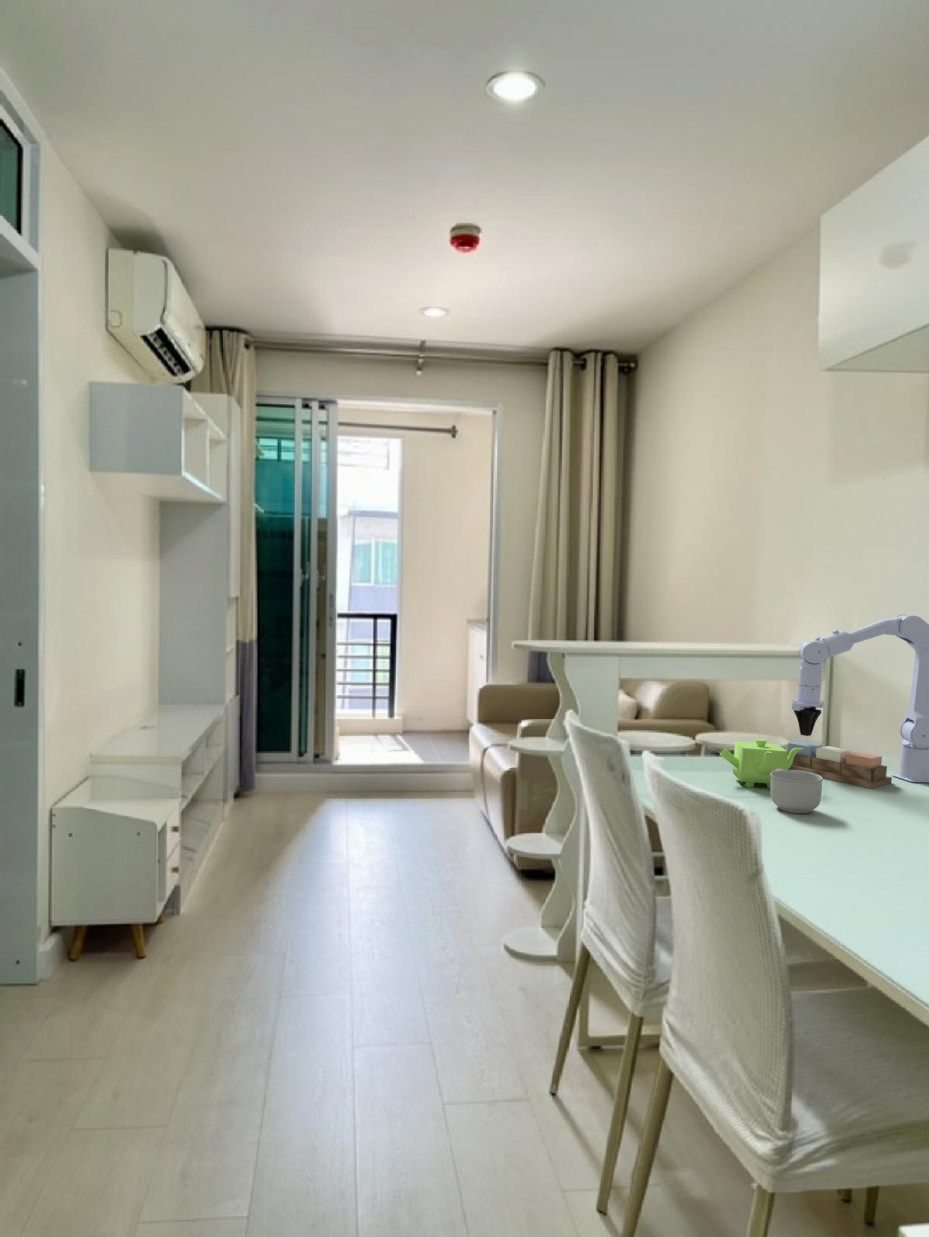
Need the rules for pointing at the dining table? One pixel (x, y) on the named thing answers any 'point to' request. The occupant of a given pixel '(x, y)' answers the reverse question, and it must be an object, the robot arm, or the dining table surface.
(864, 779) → the wooden compartment tray
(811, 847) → the dining table surface
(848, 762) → the terracotta key
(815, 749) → the slate blue key
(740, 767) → the kettle
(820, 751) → the cream key
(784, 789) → the teacup
